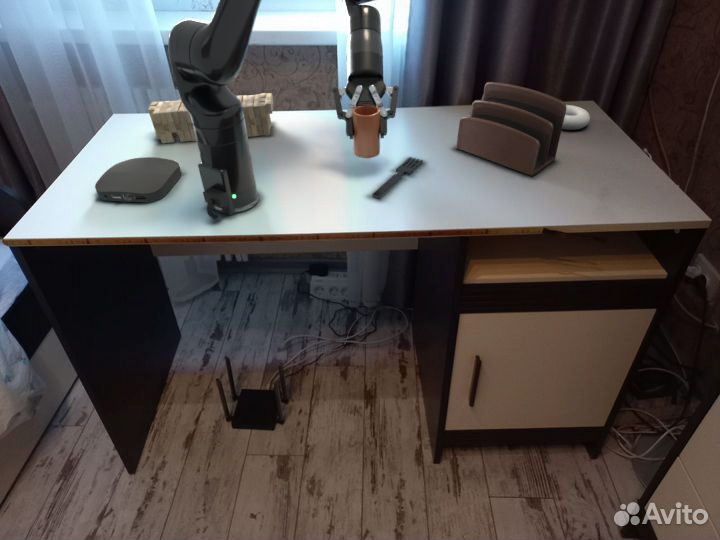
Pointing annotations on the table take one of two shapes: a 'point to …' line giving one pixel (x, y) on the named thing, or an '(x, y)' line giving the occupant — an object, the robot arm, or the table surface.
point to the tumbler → (366, 131)
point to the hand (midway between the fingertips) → (366, 137)
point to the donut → (575, 118)
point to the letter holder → (513, 127)
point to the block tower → (177, 120)
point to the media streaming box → (138, 180)
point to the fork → (398, 176)
